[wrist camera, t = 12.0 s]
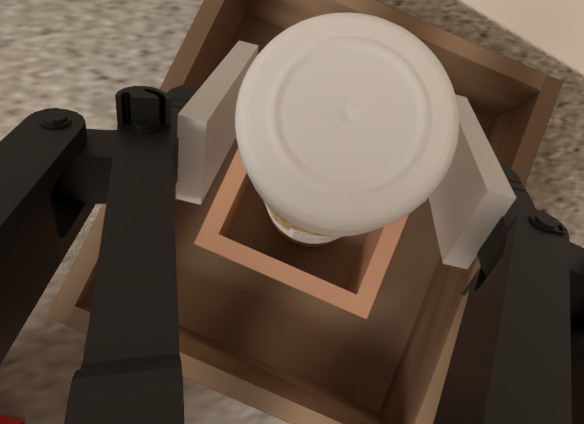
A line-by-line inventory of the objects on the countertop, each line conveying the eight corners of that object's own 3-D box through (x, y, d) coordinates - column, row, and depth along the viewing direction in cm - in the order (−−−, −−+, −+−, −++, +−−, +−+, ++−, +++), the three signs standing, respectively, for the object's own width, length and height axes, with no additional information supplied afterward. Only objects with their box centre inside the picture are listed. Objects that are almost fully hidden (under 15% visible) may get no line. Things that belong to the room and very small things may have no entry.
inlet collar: (205, 245, 21) (193, 243, 18) (270, 103, 22) (270, 79, 19) (353, 310, 21) (366, 319, 18) (412, 164, 22) (434, 150, 19)
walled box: (99, 302, 21) (47, 316, 16) (242, 6, 23) (234, -62, 18) (382, 426, 21) (415, 478, 16) (501, 118, 23) (563, 81, 18)
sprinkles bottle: (267, 161, 22) (232, 1, 8) (354, 161, 22) (461, 2, 8) (266, 249, 21) (230, 231, 8) (356, 249, 21) (474, 231, 8)
